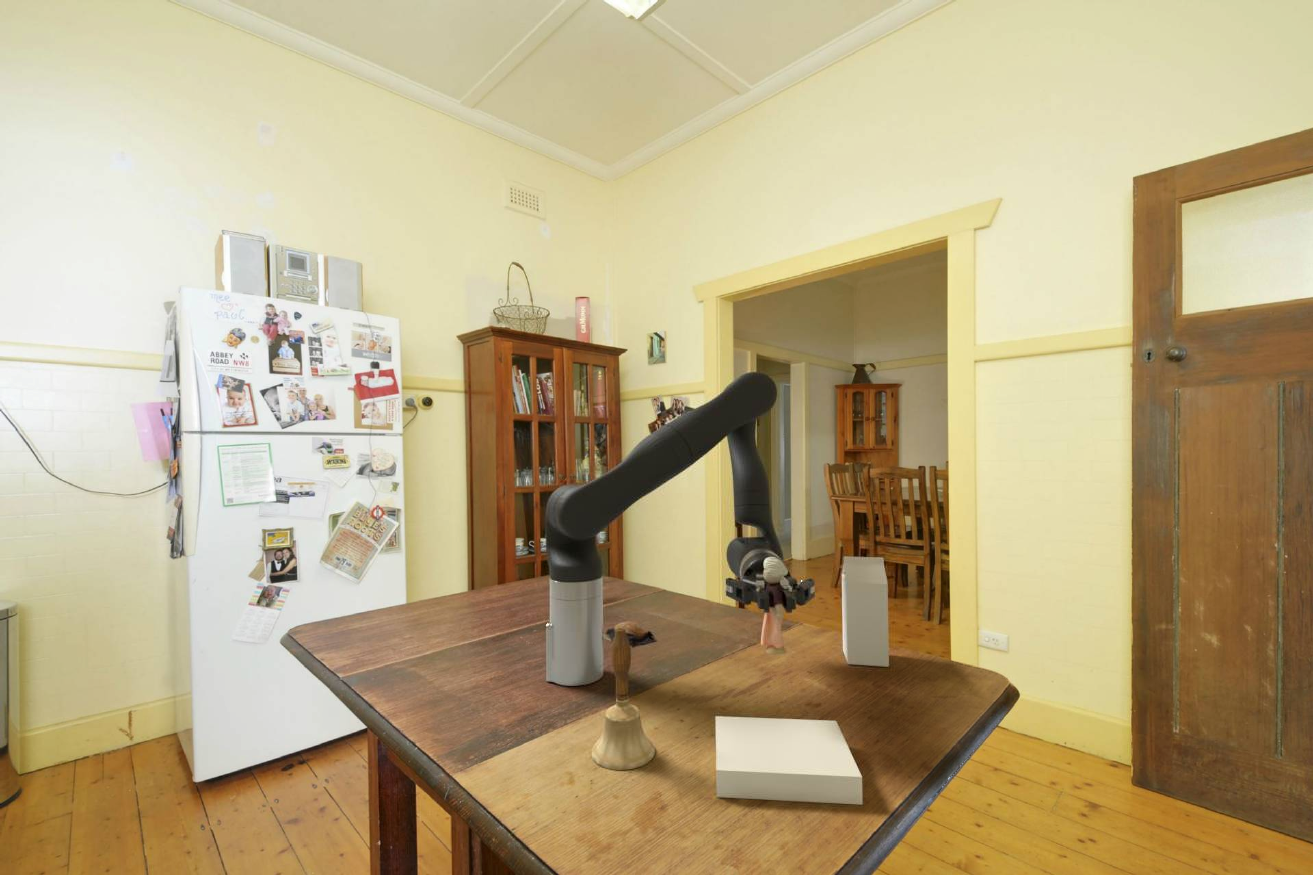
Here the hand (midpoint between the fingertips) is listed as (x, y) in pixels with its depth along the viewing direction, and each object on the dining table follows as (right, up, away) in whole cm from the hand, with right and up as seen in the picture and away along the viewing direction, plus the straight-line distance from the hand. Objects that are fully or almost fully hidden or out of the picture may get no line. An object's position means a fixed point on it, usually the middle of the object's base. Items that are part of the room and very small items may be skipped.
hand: (778, 605), depth 74 cm
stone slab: (-1, -19, -5) cm, 19 cm away
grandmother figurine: (0, -7, +3) cm, 8 cm away
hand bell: (-20, -19, -1) cm, 28 cm away
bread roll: (-22, -21, +44) cm, 53 cm away
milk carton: (+23, -20, +31) cm, 43 cm away
